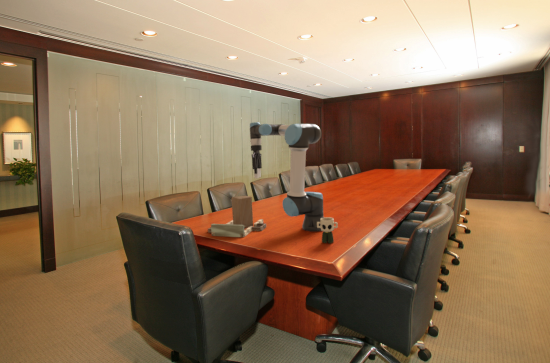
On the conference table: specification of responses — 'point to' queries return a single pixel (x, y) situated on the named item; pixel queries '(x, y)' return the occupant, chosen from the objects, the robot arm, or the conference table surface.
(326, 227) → the character mug
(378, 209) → the conference table surface
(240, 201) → the wooden block
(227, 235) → the tray
